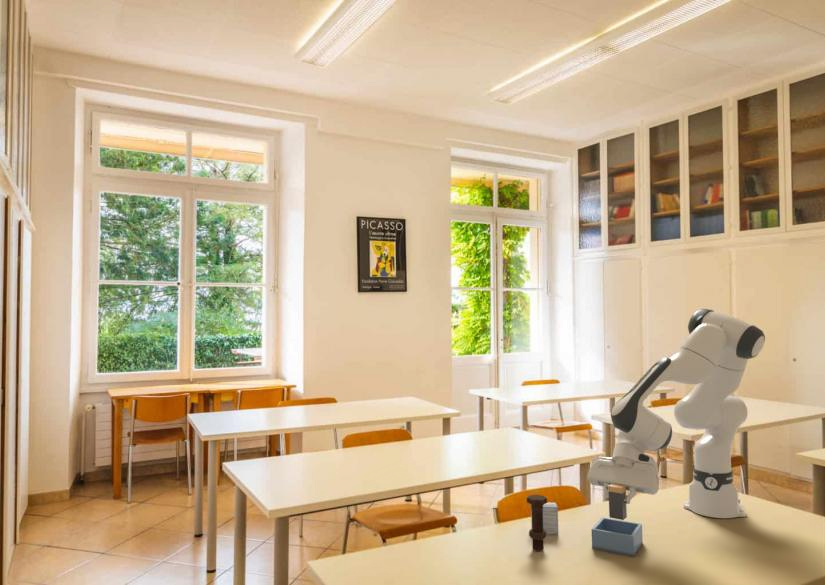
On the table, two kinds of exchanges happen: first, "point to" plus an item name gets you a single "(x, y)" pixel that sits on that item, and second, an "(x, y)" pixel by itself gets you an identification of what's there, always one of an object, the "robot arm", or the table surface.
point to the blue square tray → (617, 536)
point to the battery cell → (617, 501)
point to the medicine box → (549, 518)
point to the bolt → (537, 521)
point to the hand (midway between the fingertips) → (616, 500)
